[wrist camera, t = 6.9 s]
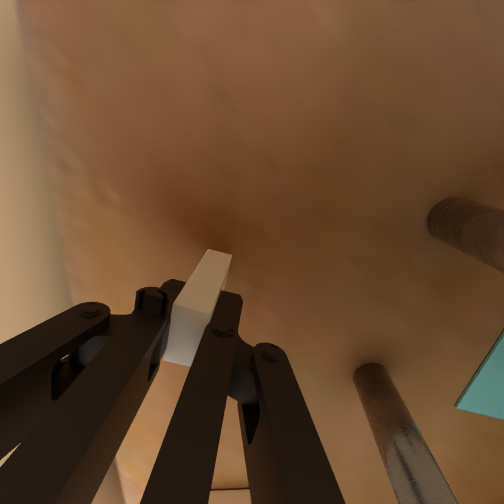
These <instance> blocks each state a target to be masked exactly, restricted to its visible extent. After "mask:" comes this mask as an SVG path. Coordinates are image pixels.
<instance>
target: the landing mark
mask: <svg viewBox="0 0 504 504" xmlns="http://www.w3.org/2000/svg"><path fill="white" fill-rule="evenodd" d="M455 407H456V408H458V409H462V410H466V411H470V412H474V413H478V414H483V415H487V416H491V417H495V418H499V419H503V420H504V331H503V332H502V334H501V336H500V337H499V339H498V340H497V342H496V343H495V345H494V346H493V348H492V349H491V351H490V352H489V354H488V355H487V357H486V358H485V360H484V362H483V363H482V365H481V366H480V368H479V369H478V371H477V372H476V374H475V375H474V377H473V378H472V380H471V381H470V383H469V384H468V386H467V388H466V389H465V391H464V392H463V394H462V395H461V397H460V398H459V400H458V401H457V403H456V404H455Z"/></svg>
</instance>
